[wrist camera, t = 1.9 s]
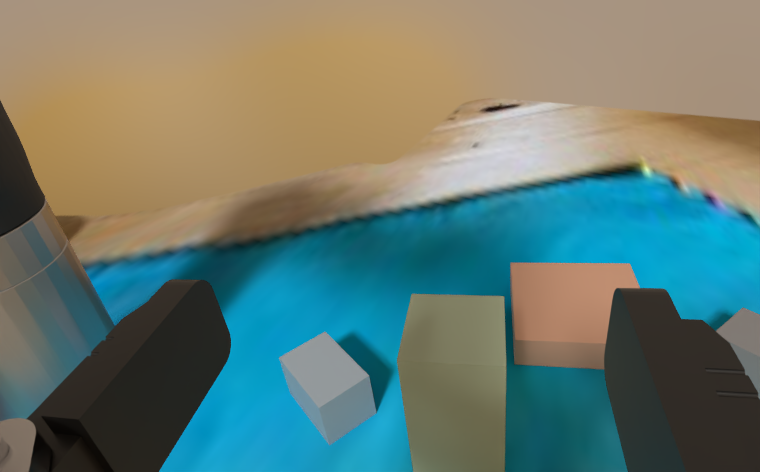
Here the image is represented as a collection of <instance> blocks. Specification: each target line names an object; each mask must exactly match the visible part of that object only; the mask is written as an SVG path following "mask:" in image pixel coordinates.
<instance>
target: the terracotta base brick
mask: <svg viewBox="0 0 760 472" xmlns="http://www.w3.org/2000/svg"><path fill="white" fill-rule="evenodd" d="M616 288H640V287H639V285H638V282H637V280H636V277H635V275H634V273H633V270H632V268H631V265H630V264H613V263H511V269H510V290H511V309H512V328H513V346H514V364H516V365H534V366H552V367H571V368H589V369H604V353H605V345H606V339H607V332H608V325H609V319H610V312H611V305H612V299H613V294H614V291H615V289H616Z"/></svg>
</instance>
